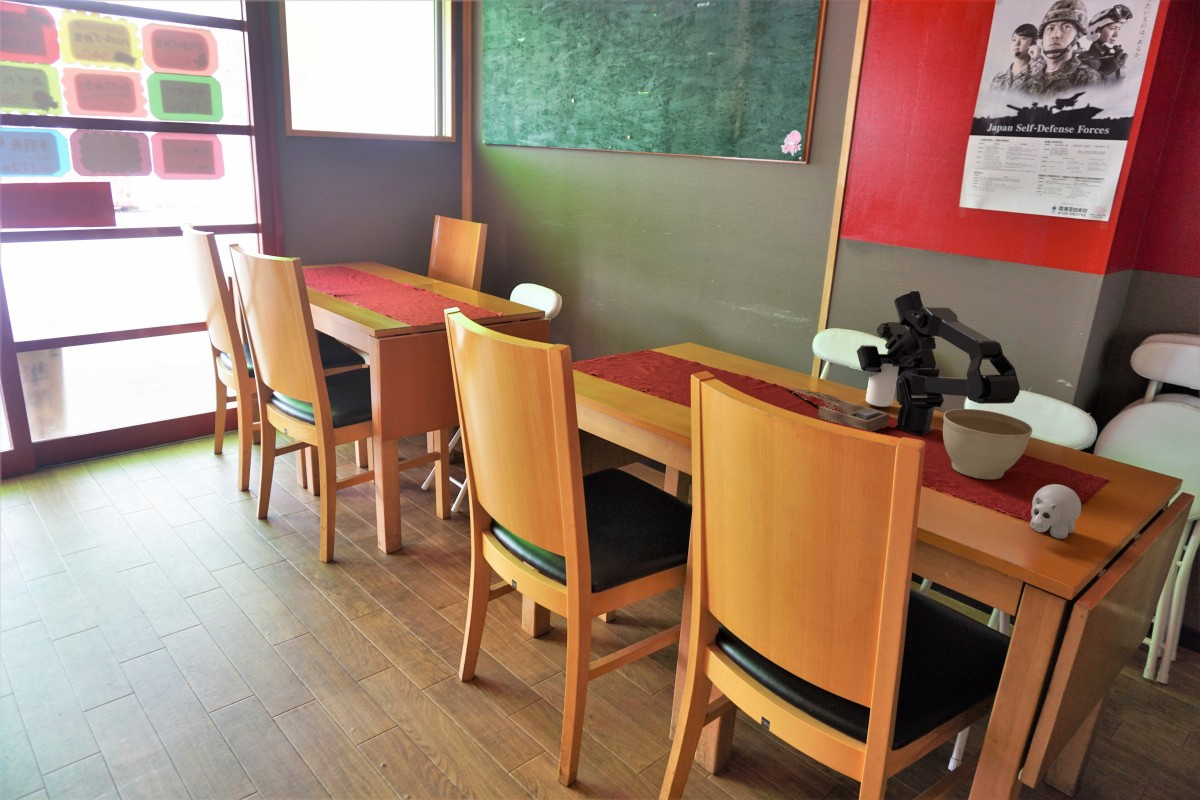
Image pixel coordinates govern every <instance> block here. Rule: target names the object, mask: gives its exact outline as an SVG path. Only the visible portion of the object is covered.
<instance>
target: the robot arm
mask: <svg viewBox="0 0 1200 800" xmlns="http://www.w3.org/2000/svg"><path fill="white" fill-rule="evenodd" d="M893 304H894V309H895V311H896V314H897V317H898V320H899V322H898V321H897V322H896V321H888V322H881V323H880V324H879V325H878V326H877V329H876V334H877V335H878V336H879V338H880V339H882V338H884V340H885V342H886V343H885V344H884V347H885V349H886V350H887V352H886V353H880V352H879V350H878V349H879V348H878V346H876V345H871V344H867V345H866V344H865V345H864V344H862V345H860V346H859V348H858V349H857V350H856V353H857V358H858V362H859V367H860V370H861V371H863V372H866V375H867V377H868V378H869V377H871V376H873V375H876V374H879V373H881V372H882V371H881V367H882V366H883V364H892V365H893V366H899V370H898V376H897V382H896V387H895V390H896V402H897V403H898V405H900V407H899V409H898V415H897V419H896V425H894V428H895V429H896V430H897V429H898V430H900V431H904V432H907V433H908V434H909V433H910V434H913V433H915V434H914V435H916V434H917V435H916V436H924V435H926V434H928V433H930V432H933V431H934V428H933V427H931V426H932V421H933V416H934V411H935V408H941V407H942V405H943V403H944V397H943V395H948V396H959V397H960V396H961V397H967V399H968V400H969V401H970V402H974V403H977V404H981V405H983V404H984V405H985V404H986V405H987V404H988V405H990V404H993V405H995V404H1006V405H1007V404H1009V405H1010V404H1013V403H1015V402H1016V399H1017V397H1018V396H1019V394H1020V391H1021V389H1020V388H1021V387H1020V386H1021V385H1020V382H1019V380H1018V376H1017V372H1016V369H1015V366H1014V365H1013V364H1012V363H1011V362H1010V361H1009V359H1008V358H1007V357H1006V356H1005V355H1004V352H1003V349H1002V345H1001V343H1000V342H999V341H997V340H995V339H991V338H989V337H987V336H986V335H984V334H982V333H980V332H978V331H976V330H975V329H972V328H971V327H970V326H967V325H966V324H964V323H962V322H960V321H959V320H958V315H957V314H956V313H955V312H954V311H953V310H952V309H951V308H949V307H946V306H945V307H943V306H942V307H941V306H937V307H936V306H924V304H923V302H922V298H921V293H920V291H919V290H910V292H909V293H906V294H903V295H900V296H898V297H896V298H895V299H894V300H893ZM935 337H939V338H941V339H943V340H945V341H946V342H948V343H950V344H951V345H953V346H954V347H956V348H958V349H960V350H961V351H963V352H965V353H966V354H968V355H969V359H970V361H969V366H968V369H967V371H966V377H967V378H965V377H947V376H946V377H945V376H941V375H940V371H941V370H940V368H937V359H936V356H935V354H934V351H933V350H935V349H936V347H937V343H936V338H935ZM983 361H990V364H992V366H993V367H994V368H995V370H996V371H997V372H998V374H982V372H981V369H980V368H981V366H982V362H983Z"/></svg>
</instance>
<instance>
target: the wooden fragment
mask: <svg viewBox="0 0 1200 800" xmlns="http://www.w3.org/2000/svg"><path fill="white" fill-rule="evenodd" d="M788 388H789V387H788ZM789 389H790V390H793V391H795V392H796V393H797V392H799V393H800V394H801V393H802V394H804V395H806V396H810V397H811V396H813V397H816V398H818V399H819V400H820V399H821V400H823V401H824V404H825V403H826V406H827V405H828V406H829V407H827V408H830V407H831V408H830V409H835V408H836V407H839V401H840V400H841V399H839V398H838V397H836V396H833V395H830V394H824V393H821V392H819V391H813V390H810V389H806V390H804V389H796V388H789ZM793 393H794V392H793ZM793 393H792V394H793ZM797 394H798V393H797ZM798 397H799V398H801V399H803V400H805V401H806V400H807V399H806V398H804V397H800V396H798ZM823 401H822V402H823ZM822 402H821V403H822ZM828 403H829V404H828ZM826 406H824V407H825V408H826ZM834 406H836V407H834ZM837 410H838V409H837Z"/></svg>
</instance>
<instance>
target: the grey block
mask: <svg viewBox="0 0 1200 800" xmlns="http://www.w3.org/2000/svg"><path fill="white" fill-rule="evenodd" d="M872 409H873V408H871V409H867V410H863V411H860V412H857V414H856V417H857V418H861V419H864V420H869V419H872V418H875V417H877V416H879V412H878V411H879V410H878V411H875V410H876V409H875V410H872Z"/></svg>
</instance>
